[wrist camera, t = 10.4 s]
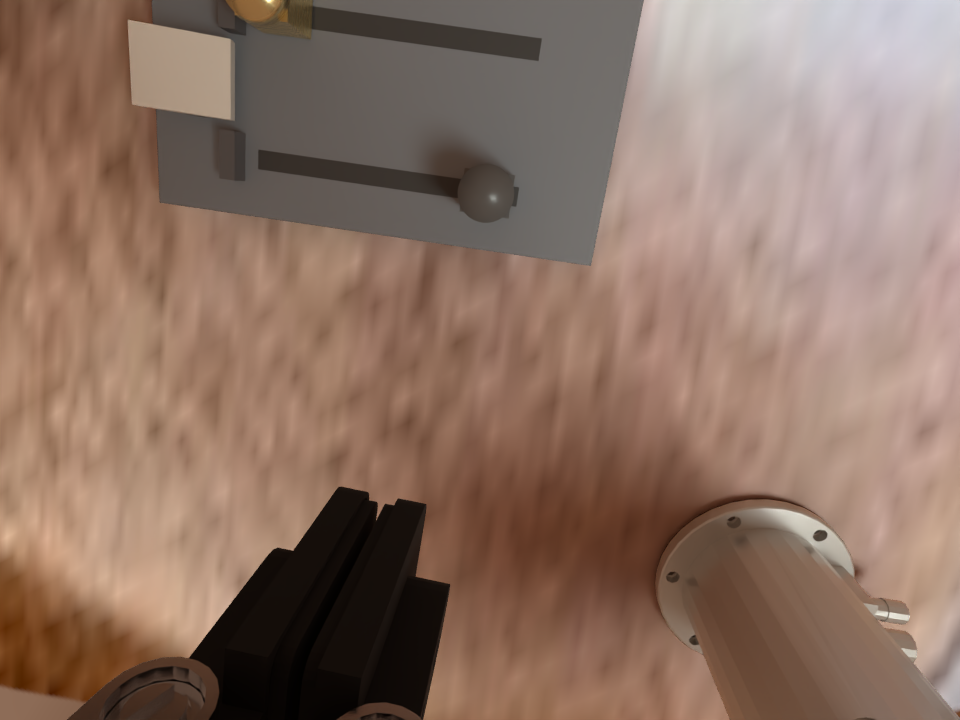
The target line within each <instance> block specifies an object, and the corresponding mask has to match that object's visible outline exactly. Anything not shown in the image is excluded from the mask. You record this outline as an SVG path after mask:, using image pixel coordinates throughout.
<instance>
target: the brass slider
mask: <svg viewBox="0 0 960 720" xmlns="http://www.w3.org/2000/svg"><path fill="white" fill-rule="evenodd" d="M226 2H227V4H228V5H229V6H230V8H231V9H232V10H233V11H234V12H235V15H236V16H237V17H239V18H240V19H242V20H244V21H245V22H247V23H248V24H250V25H252V26H253V27H255V28H256V29H258V30H260V31H261V32H263V33H267V34H274V35H281V36H288V37H295V38H302V39H309V40H311V32H312V7H313V0H226Z"/></svg>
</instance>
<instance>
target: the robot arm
mask: <svg viewBox="0 0 960 720" xmlns="http://www.w3.org/2000/svg"><path fill="white" fill-rule="evenodd" d="M377 507H378V503H377V502H374V501H369V493H368V492H365V491H360V490H355V489H350V488H345V487H338V488H337V490H336V491H335V492H334V494H333V495H332V497H331V498H330V500H329V501H328V502H327V504H326V505H325V507H324V508H323V509H322V511H321V512H320V514H319V515H318V517H317V518H316V519H315V521H314V522H313V524H312V525H311V527H310V528H309V529H308V531H307V532H306V534H305V535H304V536H303V538H302V539H301V541H300V542H299V544H298V545H297V546H296V548H295V549H294V551H291V550H286V549H281V548H276V549H273V550H272V552H271V553H270V554H269V555H268V556H267V557H266V559H265V560H264V561H263V562H262V564H261V565H260V566H259V568H258V569H257V570H256V572H255V573H254V574H253V575H252V577H251V578H250V579H249V581H248V582H247V583H246V585H245V586H244V587H243V588H242V590H241V591H240V592H239V594H238V595H237V596H236V598H235V599H234V600H233V601H232V603H231V604H230V605H229V607H228V608H227V609H226V611H225V612H224V613H223V614H222V616H221V617H220V618H219V620H218V621H217V622H216V624H215V625H214V626H213V627H212V629H211V630H210V631H209V633H208V634H207V635H206V637H205V638H204V639H203V640H202V642H201V643H200V644H199V646H198V647H197V648H196V650H195V651H194V652H193V653H192V655H191V656H190V657H189V658H184V657H166V658H159V659H155V660H151V661H147V662H144V663H141V664H139V665H137V666H135V667H133V668H130V669H128V670H126V671H124V672H123V673H121V674H120V675H118V676H117V677H116V678H114V679H113V680H112V681H110V682H109V683H107V684H106V685H105V686H104V687H103V688H102V689H100V690H99V691H98V692H97V693H96V694H95V695H94V696H93V697H92V698H90V699H89V700H88V701H87V702H86V703H85V704H84V705H83V706H81V707H80V708H79V709H78V710H77V711H76V712H75V713H74V714H73V715H71V716H70V717H69V718H68V719H67V720H423V718H424V713H425V708H426V704H427V699H428V695H429V690H430V685H431V681H432V676H433V672H434V667H435V662H436V657H437V653H438V648H439V643H440V638H441V633H442V627H443V622H444V617H445V612H446V606H447V601H448V595H449V590H450V584H446V583H442V582H437V581H432V580H428V579H423V578H418V577H415V576H416V569H417V563H418V557H419V551H420V545H421V539H422V533H423V527H424V521H425V514H426V504H423V503H418V502H413V501H408V500H403V499H397V501H396V503H395V505H389V504H385V505H384V507H383V509H382V511H381V513H380V515H379V517H378V519H377V520H376V516H377ZM655 588H656V596H657V601H658V604H659V607H660V610H661V613H662V615H663V617H664V619H665V621H666V623H667V625H668V627H669V628H670V629H671V631H672V632H673V633H674V634H675V635H676V637H677V638H678V639H679V640H680V641H682V642H683V643H684V644H685V645H686V646H688V647H689V648H691V649H693V650H695V651H697V652H698V653H700V654H702V655H704V657H705V659H706V662H707V664H708V667H709V669H710V672H711V674H712V677H713V679H714V682H715V684H716V687H717V689H718V692H719V694H720V696H721V699H722V701H723V704H724V706H725V709H726V711H727V714H728V716H729V719H730V720H960V718H959V717H958V716H957V714H956V713H955V712H954V711H953V710H952V708H951V707H950V706H949V705H948V704H947V702H946V701H945V700H944V699H943V698H942V697H941V695H940V694H939V693H938V692H937V691H936V689H935V688H934V687H933V686H932V685H931V683H930V682H929V681H928V680H927V679H926V678H925V676H924V675H923V674H922V673H921V672H920V670H919V669H918V668H917V667H916V666H915V664H914V663H913V662H914V661H915V660H916V658H917V647H916V643H915V641H914V639H913V638H912V636H911V635H910V634H909V633H907V632H906V631H901V630H894V629H888V628H883V626H882V625H881V624H880V623H879V622H878V620H880V621H883V622H889V623H895V624H906V623H907V622H908V621H909V616H910V614H909V609H908V608H907V606H906V604H905V603H903V602H902V601H897V600H891V599H884V598H871V597H870V596H869V595H868V594H867V593H866V592H865V591H864V590H863V588H862V587H861V586H860V585H859V584H858V583H857V582H856V580H855V570H854V566H853V562H852V558H851V554H850V553H849V551H848V549H847V547H846V545H845V543H844V541H843V540H842V539H841V538H840V537H839V536H838V534H837V533H836V532H835V531H834V530H833V529H832V528H831V527H830V526H829V525H828V524H827V523H826V522H825V521H824V520H822V519H821V518H820V517H819V516H817V515H815V514H814V513H812V512H810V511H808V510H807V509H805V508H803V507H800V506H797V505H794V504H791V503H788V502H782V501H776V500H769V499H758V500H744V501H739V502H733V503H729V504H726V505H723V506H720V507H717V508H714V509H711V510H710V511H708V512H706V513H704V514H702V515H700V516H698V517H697V518H695V519H694V520H692V521H691V522H690V523H688V524H687V525H686V526H685V527H683V528H682V529H681V530H680V531H679V532H678V533H677V534H676V536H675V537H674V538H673V539H672V540H671V541H670V542H669V544H668V546H667V547H666V549H665V551H664V552H663V554H662V556H661V559H660V562H659V565H658V568H657V571H656V581H655Z"/></svg>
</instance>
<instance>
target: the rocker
mask: <svg viewBox="0 0 960 720" xmlns="http://www.w3.org/2000/svg"><path fill="white" fill-rule="evenodd" d="M128 37H129V56H130V76H131V95H132V105H136V106H140V107H146V108H152V109H159V110H165V111H172V112H178V113H185V114H191V115H197V116H204V117H210V118H217V119H223V120H230V121H235V43H234V42H233V41H232V40H231V39H228V38H223V37H218V36H212V35H207V34H202V33H196V32H191V31H186V30H181V29H175V28H170V27H165V26H159V25H154V24H149V23H143V22H138V21H133V20H128Z"/></svg>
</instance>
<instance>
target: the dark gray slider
mask: <svg viewBox="0 0 960 720" xmlns="http://www.w3.org/2000/svg"><path fill="white" fill-rule="evenodd" d="M514 181H515V175H511V174H507V173H506V172H505V171H504V170H503V169H502V168H500V167H498V166H496V165H493V164H479V165H476V166H474V167H472V168H471V169H469V168H465V170H464V175H463V177H462V178H461V180H460V183H459V186H458V200H459V204H460V210H459V211H460V212H464V213H465V214H466V215H467V216H468V217H470V218H471V219H473V220H475V221H477V222H481V223H490V222H494V221H497V220H499V219H501V218H508V219H509V214H510V208H511V206H512V203H513V200H514Z"/></svg>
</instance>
